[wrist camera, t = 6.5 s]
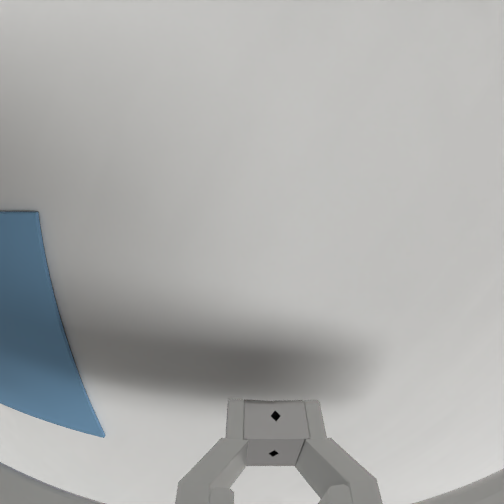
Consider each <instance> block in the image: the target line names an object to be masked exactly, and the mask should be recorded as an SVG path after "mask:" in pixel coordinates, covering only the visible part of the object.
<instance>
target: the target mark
mask: <svg viewBox="0 0 504 504" xmlns="http://www.w3.org/2000/svg"><path fill="white" fill-rule="evenodd" d="M0 403H1V404H3V405H5V406H8V407H10V408H13V409H15V410H18V411H20V412H23V413H25V414H28V415H31V416H33V417H36V418H39V419H42V420H45V421H48V422H51V423H54V424H57V425H60V426H63V427H66V428H70V429H73V430H76V431H80V432H84V433H87V434H91V435H95V436H99V437H103V438H104V437H105V433H104V431H103V429H102V427H101V425H100V423H99V421H98V419H97V416H96V414H95V412H94V410H93V407H92V405H91V403H90V400H89V398H88V396H87V393H86V391H85V388H84V386H83V383H82V381H81V378H80V376H79V373H78V370H77V368H76V365H75V362H74V359H73V356H72V353H71V350H70V348H69V344H68V341H67V338H66V335H65V332H64V329H63V325H62V322H61V319H60V315H59V311H58V308H57V304H56V300H55V296H54V292H53V288H52V284H51V280H50V276H49V271H48V266H47V262H46V257H45V251H44V246H43V240H42V234H41V228H40V221H39V214H38V212H0Z"/></svg>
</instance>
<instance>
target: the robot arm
mask: <svg viewBox="0 0 504 504" xmlns="http://www.w3.org/2000/svg"><path fill="white" fill-rule="evenodd" d="M270 465H271V466H295V467H296V468H297V470H298V471H299V472H300V474H301V475H302V476H303V477H304V479H305V480H306V481H307V482H308V483H309V485H310V486H311V487H312V488H313V490H314V491H315V492H316V493H317V494H318V496H319V497H320V498H321V500H320V501H319V503H318V504H383V503H382V499H381V495H380V492H379V488H378V484H377V480H376V478H375V477H374V476H373V475H371V474H370V473H369V472H368V471H367V470H366V469H365V468H363V467H362V466H361V465H360V464H359V463H358V462H357V461H356V460H355V459H353V458H352V457H351V456H350V455H349V454H348V453H347V452H346V451H345V450H344V449H342V448H341V447H340V446H339V445H338V444H337V443H336V442H335V441H334V440H333V439H332V438H327V436H326V431H325V426H324V421H323V416H322V411H321V407H320V402H319V401H318V400H284V401H261V400H245V399H229V400H228V408H227V423H226V438H221V439H220V440H219V441H218V442H217V443H216V444H215V445H214V446H213V447H212V448H211V449H210V451H209V452H208V453H207V454H206V455H205V456H204V457H203V458H202V459H201V460H200V461H199V462H198V463H197V464H196V465H195V466H194V467H193V468H192V469H191V470H190V471H189V472H188V473H187V474H186V475H185V476H184V477H183V478H182V479H181V480H180V481H179V482H178V489H177V495H176V502H175V504H234V492H233V491H232V490H231V489H230V487H231V486H232V484H233V483H234V482H235V480H236V479H237V478H238V476H239V475H240V474H241V472H242V471H243V470H244V468H245V466H270ZM0 504H105V503H102V502H98V501H95V500H92V499H89V498H85V497H82V496H79V495H76V494H73V493H71V492H68V491H65V490H62V489H60V488H57V487H54V486H52V485H49V484H47V483H44V482H42V481H40V480H37V479H35V478H33V477H30V476H28V475H26V474H24V473H22V472H19V471H17V470H15V469H13V468H11V467H9V466H7V465H5V464H3V463H1V462H0ZM412 504H504V469H502V470H500V471H498V472H496V473H493V474H491V475H489V476H487V477H485V478H482V479H480V480H478V481H475V482H473V483H471V484H468V485H466V486H463V487H461V488H458V489H455V490H453V491H450V492H447V493H444V494H441V495H438V496H435V497H432V498H429V499H426V500H423V501H419V502H416V503H412Z"/></svg>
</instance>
